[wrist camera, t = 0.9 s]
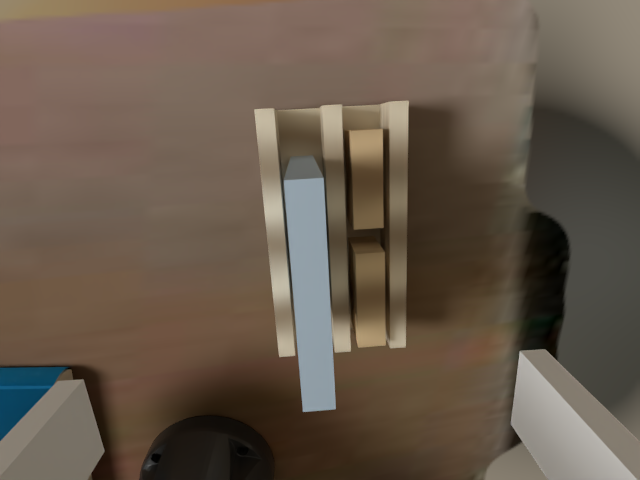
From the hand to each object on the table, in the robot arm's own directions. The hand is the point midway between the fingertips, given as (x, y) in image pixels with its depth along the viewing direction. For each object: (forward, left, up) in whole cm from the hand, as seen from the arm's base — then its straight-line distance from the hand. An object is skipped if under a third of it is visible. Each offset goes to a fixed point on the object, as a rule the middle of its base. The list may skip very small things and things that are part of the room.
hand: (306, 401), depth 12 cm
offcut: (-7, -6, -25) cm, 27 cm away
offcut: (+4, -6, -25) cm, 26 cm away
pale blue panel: (-1, 0, -25) cm, 25 cm away
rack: (-1, -3, -27) cm, 27 cm away
